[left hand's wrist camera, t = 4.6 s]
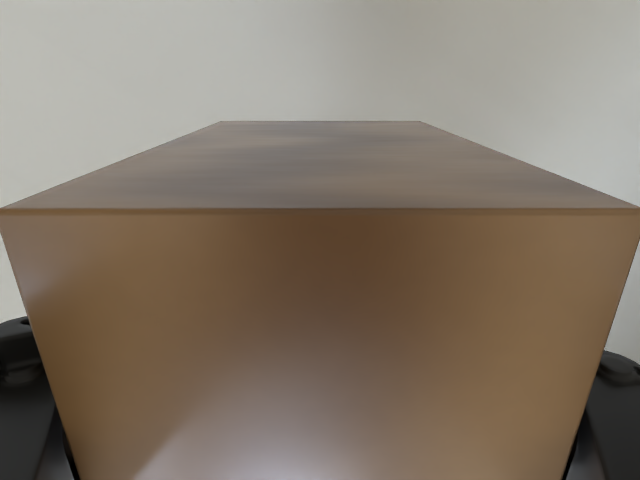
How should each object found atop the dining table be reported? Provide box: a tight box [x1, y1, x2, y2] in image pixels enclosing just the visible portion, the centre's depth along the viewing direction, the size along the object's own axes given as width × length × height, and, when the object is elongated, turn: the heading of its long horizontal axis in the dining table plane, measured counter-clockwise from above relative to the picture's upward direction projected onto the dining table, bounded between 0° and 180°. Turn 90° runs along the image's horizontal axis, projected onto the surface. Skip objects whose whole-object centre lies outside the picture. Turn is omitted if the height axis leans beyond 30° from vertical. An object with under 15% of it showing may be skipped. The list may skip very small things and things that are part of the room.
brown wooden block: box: [0, 121, 640, 480], centre depth 11 cm, size 8×9×11 cm
